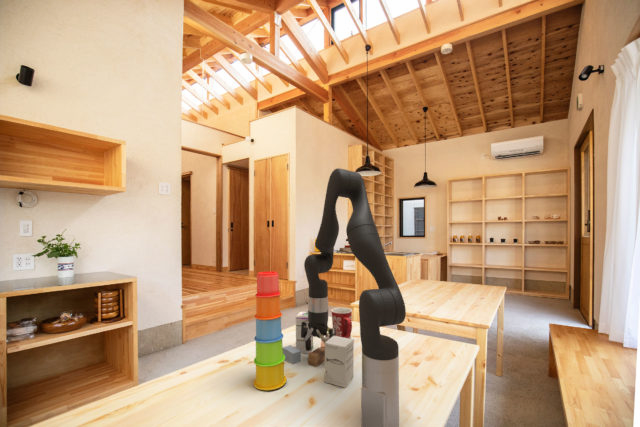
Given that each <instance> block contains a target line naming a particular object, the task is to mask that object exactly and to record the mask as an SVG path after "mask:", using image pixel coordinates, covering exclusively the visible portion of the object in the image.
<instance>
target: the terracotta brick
mask: <svg viewBox="0 0 640 427" xmlns="http://www.w3.org/2000/svg"><path fill="white" fill-rule="evenodd" d="M320 348H324V349H325V344H324V342H323V341H322V340H321V339H320Z"/></svg>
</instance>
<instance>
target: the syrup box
mask: <svg viewBox="0 0 640 427" xmlns="http://www.w3.org/2000/svg"><path fill="white" fill-rule="evenodd" d="M306 320H307V321H308V311H299V312H298V313H297V315H296V316H295V348H297V349H299V350H300V351H301V354H304V355H308V354H309V353H310V352H312V351H313V349H314V336H312V337H311V350H309V351H306V348H305V339H304V338H302V337H301V324H302V322H303V321H306ZM309 331H310V330H309V328H308V331H307V333H308V332H309Z"/></svg>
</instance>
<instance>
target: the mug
mask: <svg viewBox="0 0 640 427" xmlns="http://www.w3.org/2000/svg"><path fill="white" fill-rule="evenodd" d="M352 313H353V310H352V309H351V308H348V307H335V308H331V322H332V324H331V325H332V328H333V327H334V328H335V330H336V336H339V337H344V338H349V339H352V331H353V330H352V329H353V323H352V322H353V321H352V316H353V314H352Z"/></svg>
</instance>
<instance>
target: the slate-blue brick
mask: <svg viewBox="0 0 640 427" xmlns="http://www.w3.org/2000/svg"><path fill="white" fill-rule="evenodd" d="M283 354H284V355H285V360H284V361H286V362H288V363H290V364H292V365H296V364H298V363H301V362H302V353H301V351H300V350H299V349H297V348H296V346H295V347H294V346H292V344H289V345H285V346H283Z"/></svg>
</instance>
